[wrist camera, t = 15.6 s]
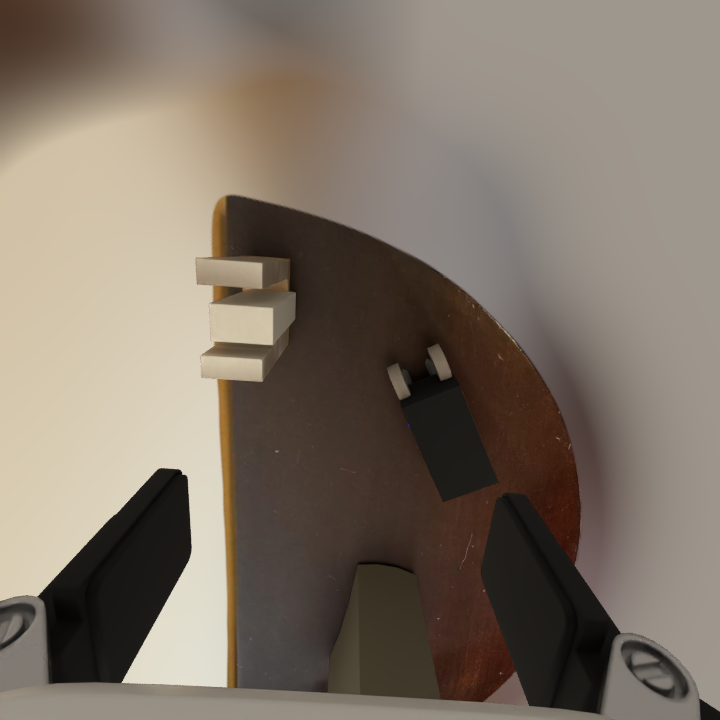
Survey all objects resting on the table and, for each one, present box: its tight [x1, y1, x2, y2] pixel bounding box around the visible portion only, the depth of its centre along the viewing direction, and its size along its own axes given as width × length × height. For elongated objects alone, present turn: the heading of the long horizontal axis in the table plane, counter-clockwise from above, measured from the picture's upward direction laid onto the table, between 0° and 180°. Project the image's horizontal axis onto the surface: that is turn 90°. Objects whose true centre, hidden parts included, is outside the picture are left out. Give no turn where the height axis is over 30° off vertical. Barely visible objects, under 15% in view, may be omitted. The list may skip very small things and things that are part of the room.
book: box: [327, 564, 441, 700], centre depth 39 cm, size 18×8×24 cm, turn 166°
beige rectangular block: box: [209, 289, 296, 345], centre depth 32 cm, size 3×5×11 cm, turn 85°
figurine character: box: [387, 344, 499, 502], centre depth 39 cm, size 7×8×15 cm
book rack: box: [196, 255, 290, 382], centre depth 32 cm, size 9×5×12 cm, turn 176°
